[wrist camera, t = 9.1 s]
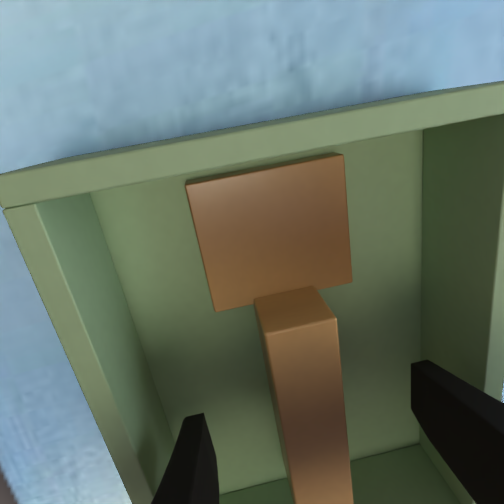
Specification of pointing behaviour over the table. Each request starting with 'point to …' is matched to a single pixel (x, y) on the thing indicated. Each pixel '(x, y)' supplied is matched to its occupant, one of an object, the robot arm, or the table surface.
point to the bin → (243, 318)
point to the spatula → (287, 300)
